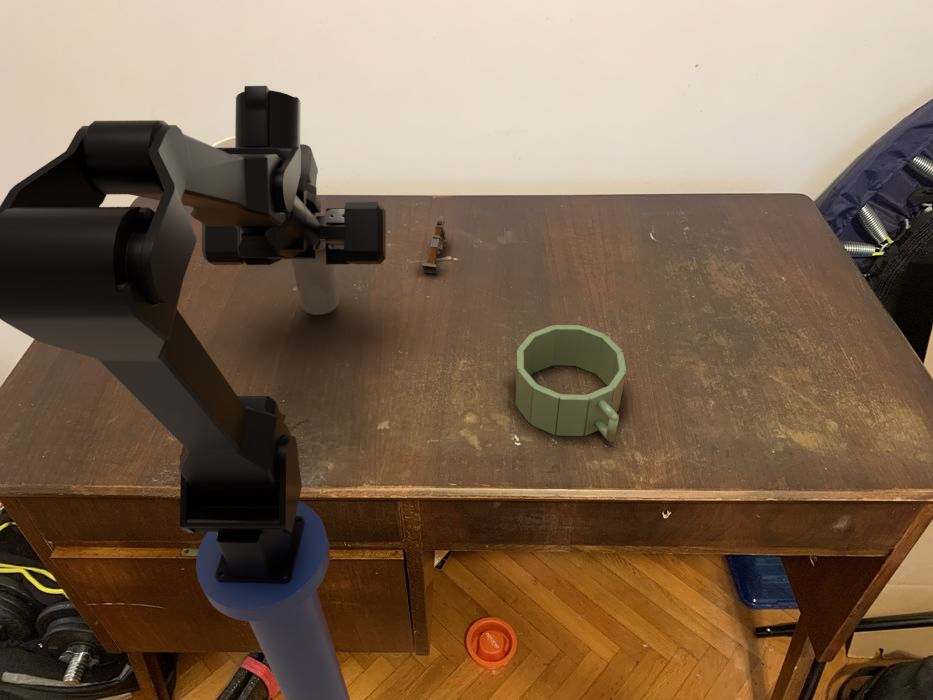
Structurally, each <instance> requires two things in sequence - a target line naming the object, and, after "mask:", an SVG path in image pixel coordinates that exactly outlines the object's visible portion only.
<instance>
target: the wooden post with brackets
mask: <svg viewBox="0 0 933 700" xmlns="http://www.w3.org/2000/svg"><path fill="white" fill-rule="evenodd" d="M445 224H446V221H445V218H444V216H443V215H440V216H439V217H437V218H436V222H435V226H434V227H435V230H434V234H432V238H431V243H430V245H429V246H430V251H429V254H428V257H427V259H426V261H425V262H423V263H422V265H421V266H422V270H423V273H427V274H429V273H430V274H436V275H437V274H438V267H437V263H436V261H437V255H440V254H443V250H444V249H443V248H444V247H445V242H444V241H446V239H447V234H446V230H445V228H444V226H445Z"/></svg>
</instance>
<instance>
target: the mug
mask: <svg viewBox="0 0 933 700" xmlns="http://www.w3.org/2000/svg"><path fill="white" fill-rule="evenodd" d="M553 366H560V367H561V366H563V367H567V366H568V367H577V368H579V369H582V370H584V371H587V372H590V373H592V374H594V375H596V376H597V377H598V378H599V379H600V380H601V381H602V382H603V383H604V384H605V385H606V386H604V387H602V388H600V389H598V390H595V391H593V392H591V393H588V394H573V393H572V394H570V393H569V394H568V393H559V392H556V391H554V390H552V389H550V388H548V387H545V386H543V385H541V384H538V383H537V382H536V381H535V380H534V378H533V377H532V375H533V374H535V373H537V372H540V371H542V370H545V369H548V368H550V367H553ZM626 374H627V367H626V360H625V356H624V352H623V350H622V349H621V347H619V345H617V344H616V343H615V342H614V340H613V339H611V338H610V337H609V335H606V334H605V333H603V332H600V331H597V330H595V329H592V328H589V327H587V326H584V325H580V324H578V325H577V324H576V325H575V324H555V325H552V324H551V325H549V326H547V327H544V328H542V329H539V330H537V331H533V332H531V333H530V334H529V335H528V336H527V337H526V338H525V340H524V341H523V342H522V343H521V344H520V345H519V347H517V350H516V360H515V381H514V382H515V383H514V390H515V391H514V394H515V395H514V401H515V402H514V403H515V407H516V408H517V410H518V412H519V413H520V414H521V415H522V416H523V417H524V418H525V420H526V421H527V422H528V424H530V426H533V427H535V428H537V429H539V430H542V431H544V432H546V433H548V434H550V435H553V436H556V437H558V436H559V437H586V436H588V435H591V434H593V433H595V432H597V431H599V432H600V434H601V435H602V436H603V437H604V438H605V440H606V441H608V442H614V441H615V440H616V436H617V431H618V426H619V420H620V416H619V414H618V413H617V412H618V411H619V409H620V405H621V400H622V396H623V391H624V385H625V380H626Z"/></svg>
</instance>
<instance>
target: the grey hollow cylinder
mask: <svg viewBox="0 0 933 700" xmlns="http://www.w3.org/2000/svg"><path fill="white" fill-rule="evenodd" d="M320 226H321V225H320ZM323 226H325V225H324V223H323ZM322 240H324V241H325V239H320V241H321V243H322ZM290 260H291V266H292V269H293V274H294V278H295V283H296V288H297V292H298V297H299V301H300V305H301V308H302V310H303V311H304V312H305V313H307V314H308V315H309V314H310V315H314V316H318V315H319V316H320V315H326V314H329V313H331V312H333V311H334V310H335V309H336V308H337V307H338V306H339V303H340V298H339V291H338V286H337V280H336V275H335V273H336V272H335V267H334V264H326V244H325V249H324V250H316V259H290Z"/></svg>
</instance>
